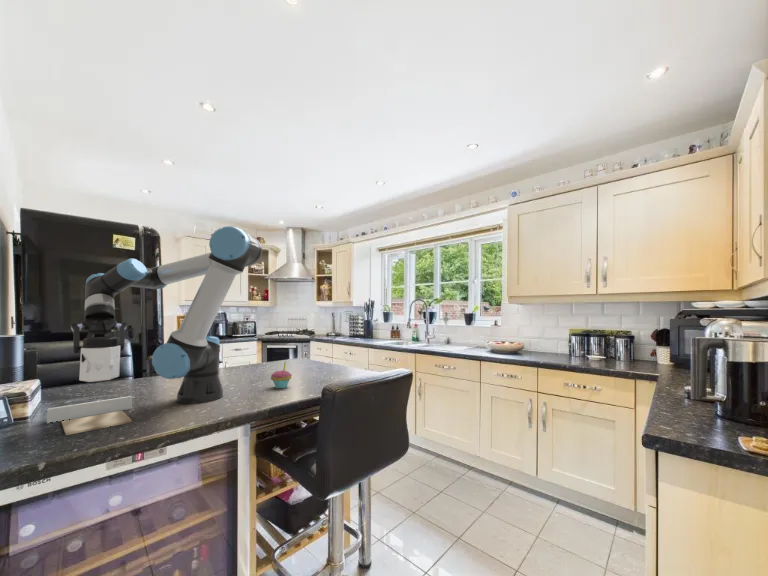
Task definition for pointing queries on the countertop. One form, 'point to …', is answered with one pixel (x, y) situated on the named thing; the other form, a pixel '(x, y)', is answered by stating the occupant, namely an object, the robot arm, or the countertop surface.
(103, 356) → the jar
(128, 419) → the oak board
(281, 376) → the cupcake
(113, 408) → the acrylic wall
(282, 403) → the countertop surface
